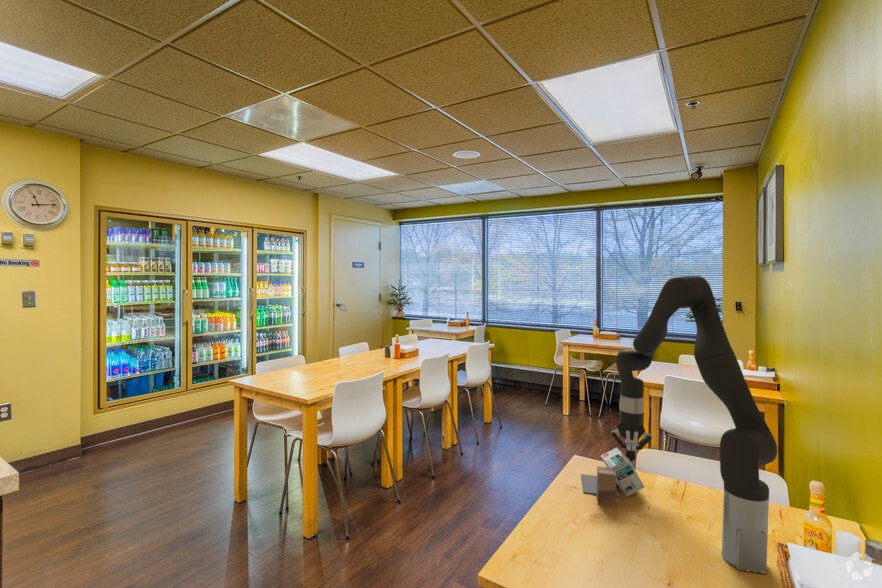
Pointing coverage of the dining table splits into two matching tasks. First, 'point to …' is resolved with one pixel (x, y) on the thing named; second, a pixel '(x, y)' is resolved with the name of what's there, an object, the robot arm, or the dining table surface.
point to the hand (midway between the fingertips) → (630, 460)
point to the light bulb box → (623, 471)
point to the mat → (591, 484)
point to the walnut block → (606, 486)
